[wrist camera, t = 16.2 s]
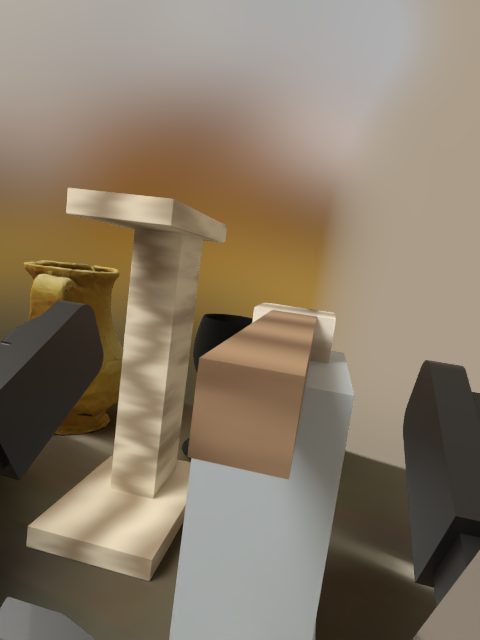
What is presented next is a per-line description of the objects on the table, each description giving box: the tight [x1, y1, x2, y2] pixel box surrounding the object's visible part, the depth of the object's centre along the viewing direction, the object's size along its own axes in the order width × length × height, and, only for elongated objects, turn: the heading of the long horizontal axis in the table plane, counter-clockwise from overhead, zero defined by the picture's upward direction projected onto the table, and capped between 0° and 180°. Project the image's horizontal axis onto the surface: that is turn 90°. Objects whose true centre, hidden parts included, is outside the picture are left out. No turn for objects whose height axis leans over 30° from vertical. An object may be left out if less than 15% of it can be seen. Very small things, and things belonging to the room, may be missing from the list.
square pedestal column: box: [26, 188, 227, 581], centre depth 44 cm, size 12×18×32 cm, turn 169°
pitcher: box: [24, 260, 123, 435], centre depth 65 cm, size 17×19×25 cm
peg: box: [187, 303, 336, 480], centre depth 23 cm, size 22×6×3 cm, turn 169°
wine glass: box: [182, 314, 253, 459], centre depth 61 cm, size 10×10×20 cm
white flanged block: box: [169, 351, 354, 640], centre depth 29 cm, size 10×14×22 cm
